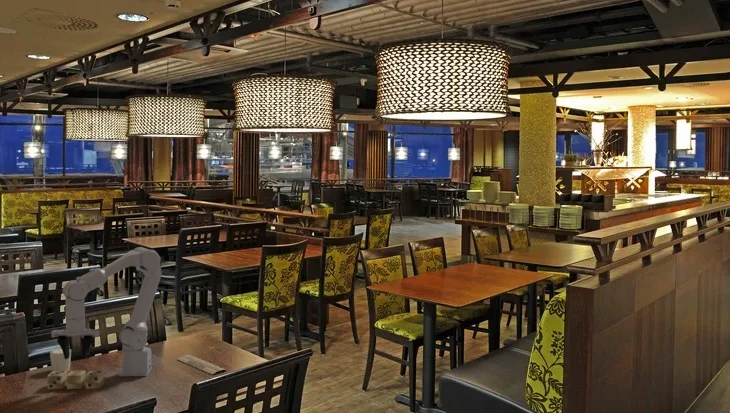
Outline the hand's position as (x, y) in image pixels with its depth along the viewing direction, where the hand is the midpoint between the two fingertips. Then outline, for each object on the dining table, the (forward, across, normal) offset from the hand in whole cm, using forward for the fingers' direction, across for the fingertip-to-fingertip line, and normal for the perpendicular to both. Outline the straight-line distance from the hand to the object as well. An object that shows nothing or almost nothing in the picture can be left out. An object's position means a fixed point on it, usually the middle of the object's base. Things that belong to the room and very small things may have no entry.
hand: (76, 358), depth 204 cm
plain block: (+10, 0, 0) cm, 10 cm away
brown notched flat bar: (+10, +37, +19) cm, 43 cm away
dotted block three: (+10, -6, 0) cm, 11 cm away
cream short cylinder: (+10, -11, +16) cm, 22 cm away
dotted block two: (+10, +6, 0) cm, 11 cm away
